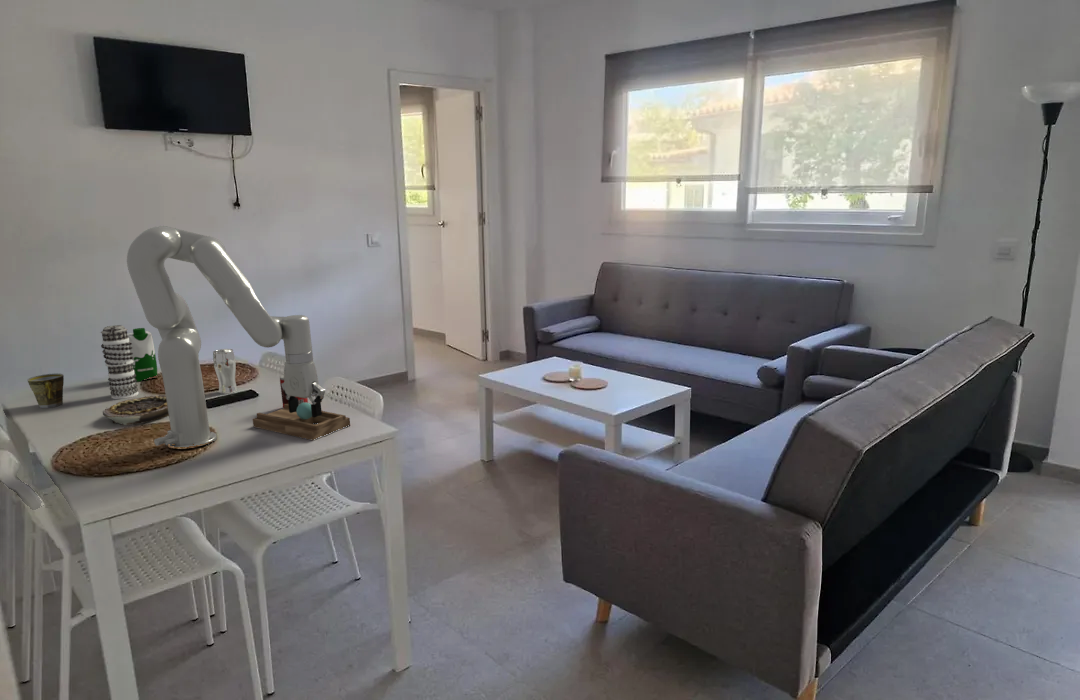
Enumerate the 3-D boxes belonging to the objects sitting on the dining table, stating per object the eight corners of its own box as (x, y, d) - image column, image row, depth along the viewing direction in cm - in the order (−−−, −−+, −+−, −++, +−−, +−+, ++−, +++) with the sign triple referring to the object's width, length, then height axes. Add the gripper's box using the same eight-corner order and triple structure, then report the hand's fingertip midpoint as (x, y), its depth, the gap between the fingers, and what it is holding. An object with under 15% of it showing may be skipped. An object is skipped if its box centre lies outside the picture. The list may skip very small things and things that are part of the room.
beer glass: (219, 390, 244) (213, 349, 241) (240, 388, 246) (234, 347, 243) (216, 395, 238) (210, 353, 235) (237, 393, 240) (232, 352, 237)
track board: (313, 440, 190) (311, 428, 190) (253, 426, 203) (252, 415, 203) (350, 425, 202) (349, 413, 201) (291, 413, 215) (290, 402, 214)
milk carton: (135, 383, 257) (126, 331, 253) (130, 378, 264) (122, 328, 259) (160, 378, 263) (153, 328, 258) (155, 374, 269) (148, 325, 265)
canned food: (312, 404, 225) (308, 372, 222) (301, 411, 217) (298, 378, 215) (290, 403, 226) (286, 372, 223) (278, 411, 218) (275, 378, 215)
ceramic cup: (31, 405, 232) (25, 377, 229) (66, 399, 238) (61, 371, 236) (35, 413, 222) (30, 384, 220) (72, 407, 228) (66, 378, 226)
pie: (207, 412, 220) (205, 397, 219) (118, 438, 199) (115, 422, 197) (162, 399, 236) (160, 386, 235) (76, 423, 214) (73, 408, 213)
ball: (295, 402, 198) (290, 414, 201) (307, 412, 197) (302, 424, 199) (308, 397, 203) (303, 409, 205) (319, 407, 202) (314, 419, 204)
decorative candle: (119, 400, 234) (107, 329, 229) (104, 397, 239) (92, 327, 233) (145, 393, 242) (134, 325, 237) (130, 390, 247) (119, 323, 241)
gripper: (268, 357, 198) (275, 413, 202) (309, 363, 190) (316, 421, 193) (289, 352, 204) (295, 406, 208) (330, 357, 196) (335, 414, 200)
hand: (305, 413), depth 201 cm, fingers open, 9 cm apart
